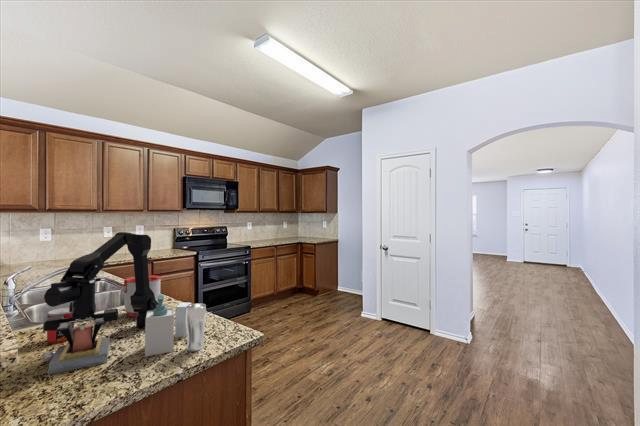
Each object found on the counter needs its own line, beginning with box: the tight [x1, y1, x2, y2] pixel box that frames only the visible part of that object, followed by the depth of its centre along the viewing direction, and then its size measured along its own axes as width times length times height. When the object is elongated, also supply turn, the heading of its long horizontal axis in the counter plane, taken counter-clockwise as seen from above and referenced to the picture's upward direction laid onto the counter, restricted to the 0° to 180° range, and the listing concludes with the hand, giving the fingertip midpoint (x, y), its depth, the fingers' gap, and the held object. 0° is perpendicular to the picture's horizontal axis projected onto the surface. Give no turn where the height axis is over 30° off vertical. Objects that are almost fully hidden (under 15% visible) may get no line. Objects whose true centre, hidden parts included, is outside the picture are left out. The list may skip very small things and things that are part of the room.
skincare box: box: [174, 302, 192, 338], centre depth 117 cm, size 6×4×12 cm
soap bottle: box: [144, 293, 175, 357], centre depth 104 cm, size 9×9×19 cm
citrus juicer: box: [118, 274, 162, 318], centre depth 141 cm, size 16×17×20 cm
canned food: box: [46, 307, 75, 345], centre depth 110 cm, size 8×8×11 cm
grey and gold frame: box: [42, 336, 111, 375], centre depth 95 cm, size 17×14×4 cm
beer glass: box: [185, 302, 207, 352], centre depth 105 cm, size 7×7×15 cm
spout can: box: [73, 324, 94, 352], centre depth 96 cm, size 5×5×9 cm
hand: (82, 345), depth 96 cm, fingers closed on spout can, 5 cm apart
